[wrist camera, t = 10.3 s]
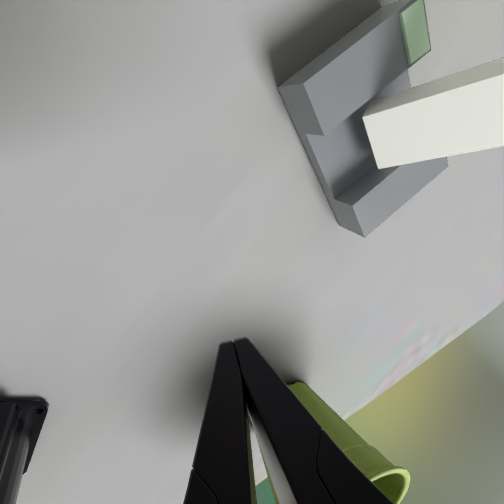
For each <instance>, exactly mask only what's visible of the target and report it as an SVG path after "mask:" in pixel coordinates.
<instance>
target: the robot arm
mask: <svg viewBox="0 0 504 504" xmlns="http://www.w3.org/2000/svg"><path fill="white" fill-rule="evenodd" d="M246 405H247V406H246ZM48 407H49V404H48V402H46V401H0V504H16V500H17V496H18V492H19V487H20V483H21V479H22V475H23V474H24V473H25V472H26V471H27V468H28V466H29V463H30V460H31V457H32V454H33V451H34V448H35V446H36V443H37V440H38V437H39V434H40V431H41V429H42V426H43V423H44V420H45V417H46V414H47V411H48ZM38 408H41V409H38ZM247 409H248V412H247ZM248 413H249V416H250V419H251V422H252V425H253V428H254V431H255V434H256V437H257V440H258V443H259V445H260V448H261V451H262V454H263V457H264V460H265V463H266V466H267V469H268V472H269V475H270V478H271V480H272V483H273V486H274V489H275V492H276V495H277V498H278V501H279V504H394V503H393V502H392V501H391V500H390V499H389V498H388V497H387V496H386V495H385V494H384V493H383V492H382V491H381V490H380V489H379V488H378V487H377V486H376V485H375V484H374V483H373V482H372V481H371V480H370V479H369V478H368V477H367V476H366V475H365V474H364V473H363V472H362V471H361V470H360V469H359V468H358V467H357V466H356V465H355V464H354V463H353V462H352V461H351V460H350V459H349V458H348V457H347V456H346V454H345V453H344V452H343V451H342V450H341V449H340V448H339V446H338V445H337V444H336V443H335V442H334V441H333V440H332V438H331V437H330V436H329V435H328V434H327V432H326V431H325V430H324V429H322V427H321V425H320V424H319V423H318V422H317V421H316V419H315V418H314V417H313V416H312V415H311V413H310V412H309V411H308V410H307V409H306V407H305V406H304V405H303V404H302V403H301V401H300V400H299V399H298V398H297V397H296V395H295V394H294V393H293V392H292V391H291V389H290V388H289V387H288V386H287V385H286V383H285V382H284V381H283V380H282V379H281V377H280V376H279V375H278V374H277V373H276V372H275V370H274V369H273V368H272V367H271V366H270V364H269V363H268V362H267V361H266V360H265V358H264V357H263V356H262V355H261V354H260V352H259V351H258V350H257V349H256V348H255V346H254V345H253V344H252V343H251V342H250V340H249V339H248V338H246V337H243V338H239V339H235V340H234V342H233V341H231V340H230V341H226V342H222V343H220V345H219V349H218V353H217V358H216V362H215V367H214V371H213V376H212V380H211V385H210V389H209V394H208V398H207V403H206V407H205V412H204V416H203V420H202V425H201V429H200V434H199V438H198V443H197V447H196V452H195V456H194V461H193V465H192V467H193V469H192V470H191V474H190V478H189V483H188V487H187V491H186V495H185V499H184V503H183V504H257V500H256V490H255V480H254V470H253V460H252V450H251V440H250V430H249V420H248Z"/></svg>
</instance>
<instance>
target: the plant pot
mask: <svg viewBox="0 0 504 504" xmlns="http://www.w3.org/2000/svg"><path fill="white" fill-rule="evenodd" d="M287 386H288V387H289V388H290V389H291V391H292V392H293V393H294V394H295V395H296V397H297V398H298V399H299V400H300V401H301V403H302V404H303V405H304V406H305V407H306V409H307V410H308V411H309V412H310V413H311V415H312V416H313V417H314V418H315V419H316V421H317V422H318V423H319V424H320V425H321V427H322V429H324V430H325V431H326V432H327V434H328V435H329V436H330V437H331V438H332V440H333V441H334V442H335V443H336V444H337V445H338V446H339V448H340V449H341V450H342V451H343V452H344V453H345V454H346V456H347V457H348V458H349V459H350V460H351V461H352V462H353V463H354V464H355V465H356V466H357V467H358V468H359V469H360V470H361V471H362V472H363V473H364V474H365V475H366V476H367V477H368V478H369V479H370V480H371V481H372V482H373V483H374V484H375V485H376V486H377V487H378V488H379V489H380V490H381V491H382V492H383V493H384V494H385V495H386V496H387V497H388V498H389V499H390V500H391V501H392V502H393V503H394V504H399V503H400V502H401V500H402V499H403V497H404V495H405V494H406V492H407V490H408V487H409V482H410V474H409V473H408V471H407V470H406V469H404V468H402V467H397V466H394V465H393V464H392V463H391V462H389V461H388V460H387V459H386V458H385V457H384V456H383V455H382V454H381V453H380V452H379V451H378V450H376V449H375V448H374V447H372V446H369V445H368V444H367V443H366V442H365V441H364V440H363V439H362V438H361V437H360V436H359V435H358V434H357V433H356V432H355V431H354V430H353V429H352V428H351V427H350V426H349V425H348V424H347V423H346V422H345V421H344V420H343V419H342V418H341V417H340V416H339V415H338V414H337V413H336V412H335V411H333V410H332V409H331V408H330V407H329V406H328V405H327V404H326V403H325V402H324V401H323V400H322V399H321V398H320V397H319V396H318V395H317V394H316V393H315V392H314V391H313V390H312V389H311V388H310V387H309V386H308V385H306V384H304V383H301V382H296V383H295V384H292V385H287ZM257 441H258V440H257ZM258 444H259V443H258ZM259 447H260V445H259ZM260 451H261V448H260ZM261 454H262V451H261ZM262 458H263V461H264V464H265V468H266V471H267V475H268V478H269V482H270V485H271V489H272V492H273V496H274V499H275V503H276V504H279V501H278V498H277V495H276V492H275V489H274V486H273V483H272V480H271V478H270V475H269V472H268V469H267V466H266V463H265V460H264V457H263V454H262Z"/></svg>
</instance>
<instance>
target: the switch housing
mask: <svg viewBox="0 0 504 504" xmlns="http://www.w3.org/2000/svg"><path fill="white" fill-rule="evenodd" d="M430 51H431V45H430V38H429V32H428V25H427V18H426V11H425V4H424V0H398V1H396V2H393V3H391V4H388V5H386V6H383V7H381V8H380V9H379V10H377V11H376V12H375V13H373V14H372V15H371V16H369V17H368V18H367V19H366V20H364V21H363V22H362V23H360V24H359V25H358V26H356V27H355V28H354V29H353V30H351V31H350V32H349V33H347V34H346V35H345V36H343V37H342V38H341V39H339V40H338V41H337V42H336V43H334V44H333V45H332V46H330V47H329V48H328V49H326V50H325V51H324V52H323V53H321V54H320V55H319V56H317V57H316V58H315V59H313V60H312V61H311V62H310V63H308V64H307V65H306V66H304V67H303V68H302V69H300V70H299V71H298V72H297V73H295V74H294V75H293V76H291V77H290V78H289V79H287V80H286V81H285V82H284V83H282V84H281V85H280V86H278V87H277V89H278V91H279V93H280V95H281V98H282V100H283V102H284V104H285V106H286V109H287V111H288V113H289V115H290V117H291V120H292V122H293V124H294V126H295V129H296V131H297V133H298V135H299V137H300V140H301V142H302V144H303V146H304V148H305V151H306V153H307V155H308V157H309V159H310V162H311V164H312V166H313V168H314V170H315V173H316V175H317V177H318V179H319V182H320V184H321V186H322V188H323V190H324V193H325V195H326V197H327V199H328V201H329V204H330V206H331V208H332V210H333V212H334V215H335V217H336V219H337V221H338V223H339V225H340V226H342V227H344V228H346V229H348V230H350V231H352V232H354V233H356V234H358V235H361V236H363V237H366V236H367V235H368V234H370V233H371V232H372V231H373V230H374V229H376V228H377V227H378V226H379V225H380V224H381V223H383V222H384V221H385V220H386V219H387V218H388V217H390V216H391V215H392V214H393V213H394V212H395V211H397V210H398V209H399V208H400V207H401V206H402V205H404V204H405V203H406V202H407V201H408V200H409V199H411V198H412V197H413V196H414V195H415V194H417V193H418V192H419V191H420V190H421V189H422V188H424V187H425V186H426V185H427V184H428V183H429V182H431V181H432V180H433V179H434V178H435V177H436V176H438V175H439V174H440V173H441V172H442V171H443V170H445V169H446V168H447V167H448V161H447V157H442V158H436V159H431V160H425V161H420V162H415V163H409V164H404V165H398V166H393V167H388V168H382V169H378V167H377V163H376V160H375V157H374V154H373V150H372V147H371V144H370V141H369V137H368V134H367V131H366V128H365V124H364V121H363V118H362V117H363V115H364V113H365V111H366V109H367V107H368V105H369V103H370V102H372V101H375V100H377V99H380V98H383V97H386V96H389V95H392V94H395V93H398V92H401V91H404V90H407V89H410V88H411V85H410V80H409V75H408V70H407V69H408V68H410V67H411V66H412V65H413V64H415V63H416V62H417V61H418V60H420V59H421V58H422V57H423V56H425V55H426V54H427V53H428V52H430Z"/></svg>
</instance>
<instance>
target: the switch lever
mask: <svg viewBox="0 0 504 504" xmlns="http://www.w3.org/2000/svg"><path fill="white" fill-rule="evenodd" d="M362 118H363V121H364V124H365V128H366V131H367V134H368V137H369V141H370V144H371V147H372V150H373V154H374V157H375V160H376V163H377V167H378V169H382V168H388V167H393V166H398V165H404V164H409V163H415V162H420V161H425V160H431V159H436V158H442V157H447V156H452V155H458V154H463V153H469V152H474V151H479V150H485V149H490V148H496V147H501V146H504V57H503V58H500V59H497V60H494V61H491V62H488V63H485V64H482V65H479V66H476V67H473V68H470V69H467V70H464V71H461V72H458V73H455V74H452V75H449V76H446V77H443V78H440V79H437V80H434V81H431V82H428V83H425V84H422V85H419V86H416V87H413V88H410V89H407V90H404V91H401V92H398V93H395V94H392V95H389V96H386V97H383V98H380V99H377V100H375V101H372V102H370V103H369V105H368V107H367V109H366V111H365V113H364V115H363V117H362Z"/></svg>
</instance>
